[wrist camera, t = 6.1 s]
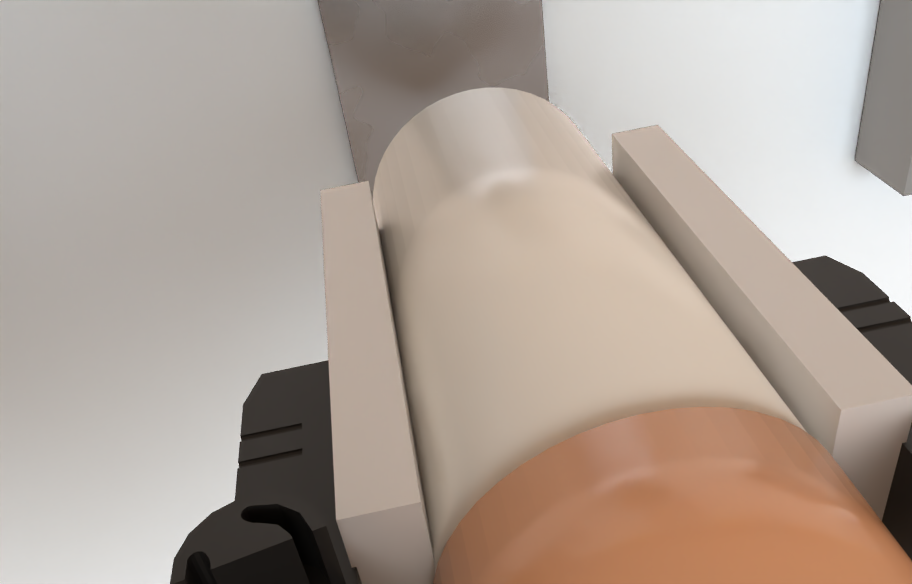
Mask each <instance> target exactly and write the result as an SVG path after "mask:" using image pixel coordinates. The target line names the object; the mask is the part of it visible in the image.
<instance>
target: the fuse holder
mask: <svg viewBox="0 0 912 584" xmlns="http://www.w3.org/2000/svg"><path fill="white" fill-rule="evenodd" d="M318 3H319V7H320V12H321V16H322V21H323V25H324V29H325V34H326V38H327V43H328V47H329V52H330V56H331V61H332V65H333V70H334V74H335V79H336V83H337V87H338V92H339V96H340V101H341V105H342V110H343V114H344V119H345V123H346V128H347V132H348V137H349V141H350V146H351V150H352V154H353V159H354V163H355V168H356V172H357V177H358V181H359V183H360V182H365V181H369V186H370V191H371V195H372V200H373V190H374V182H375V177H376V174H377V170H378V167H379V164H380V162H381V160H382V157H383V155H384V153H385V151H386V149H387V148H388V146H389V144H390V143H391V141H392V140H393V138H394V137H395V136H396V135H397V133H398V132H399V131H400V130H401V128H402V127H403V126H404V125H405V124H407V123H408V122H409V121H410V120H411V119H412V118H413V117H414V116H415V115H417V114H418V113H419V112H421V111H422V110H424V109H425V108H426V107H428V106H430V105H432V104H433V103H435V102H437V101H439V100H441V99H443V98H446V97H448V96H451V95H453V94H456V93H460V92H463V91H467V90H471V89H479V88H509V89H517V90H520V91H524V92H528V93H531V94H534V95H536V96H538V97H541V98H543V99H545V100H547V101H548V102H549V97H548V83H547V69H546V54H545V40H544V26H543V12H542V0H318Z"/></svg>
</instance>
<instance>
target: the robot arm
mask: <svg viewBox="0 0 912 584" xmlns="http://www.w3.org/2000/svg"><path fill="white" fill-rule="evenodd" d="M612 165H613V176H614V177H615V178H616V179H617V181H618V182H619V183H620V185H621V186H622V187H623V189H624V190H625V191H626V193H627V194H628V195H629V197H630V198H631V199H632V201H633V202H634V203H635V205H636V206H637V207H638V209H639V210H640V211H641V213H642V214H643V215H644V217H645V218H646V219H647V221H648V222H649V223H650V225H651V226H652V227H653V229H654V230H655V231H656V233H657V234H658V235H659V237H660V238H661V239H662V241H663V242H664V243H665V245H666V246H667V247H668V249H669V250H670V251H671V252H672V254H673V255H674V256H675V258H676V259H677V260H678V262H679V263H680V264H681V266H682V267H683V268H684V270H685V271H686V272H687V274H688V275H689V276H690V278H691V279H692V280H693V282H694V283H695V284H696V286H697V287H698V288H699V290H700V291H701V292H702V294H703V295H704V296H705V298H706V299H707V300H708V302H709V303H710V304H711V306H712V307H713V308H714V310H715V311H716V312H717V314H718V315H719V316H720V318H721V319H722V320H723V322H724V323H725V324H726V325H727V327H728V328H729V329H730V331H731V332H732V333H733V335H734V336H735V337H736V339H737V340H738V341H739V343H740V344H741V345H742V347H743V348H744V349H745V351H746V352H747V353H748V355H749V356H750V357H751V359H752V360H753V361H754V363H755V364H756V365H757V367H758V368H759V369H760V371H761V372H762V373H763V375H764V376H765V377H766V379H767V380H768V381H769V383H770V384H771V385H772V387H773V388H774V389H775V391H776V392H777V393H778V395H779V396H780V397H781V398H782V400H783V401H784V402H785V404H786V405H787V406H788V408H789V409H790V410H791V412H792V413H793V414H794V416H795V417H796V418H797V420H798V421H799V422H800V424H801V425H802V426H803V428H804V429H805V430H806V432H807V433H808V434H810V435H811V436H812V437H814V438H815V439H817V440H818V441H819V442H820V443H821V444H822V445H823V447H824V448H825V449H826V450H827V451H828V452H829V453H830V454H831V455H832V457H833V458H834V459H835V461H836V462H837V463H838V465H839V466H840V467H841V468H842V470H843V471H844V472H845V474H846V475H847V476H848V478H849V479H850V480H851V482H852V483H853V484H854V485H855V487H856V488H857V489H858V491H859V492H860V493H861V495H862V496H863V497H864V499H865V500H866V501H867V503H868V504H869V505H870V506H871V508H872V509H873V510H874V512H875V513H876V514H877V516H878V517H879V518H880V520H881V521H882V522H883V523H884V525H885V526H886V527H887V529H888V530H889V531H890V533H891V534H892V535H893V537H894V538H895V539H896V540H897V542H898V543H899V544H900V546H901V547H902V548H903V550H904V551H905V552H906V554H907V555H908V556H909V558H910V559H911V560H912V322H911V319H910V316H909V315H908V314H907V313H906V312H905V311H904V310H902V309H901V308H900V307H899V306H898V305H897V304H896V303H895V302H890V301H889V297H888V296H887V295H886V294H885V293H884V292H883V291H882V290H881V289H880V288H878V287H877V286H876V285H875V284H874V283H873V282H872V281H871V280H870V279H869V278H868V277H866V276H865V275H864V274H863V273H861V272H859V271H857V270H855V269H853V268H851V267H849V266H847V265H844V264H842V263H840V262H838V261H836V260H834V259H832V258H829V257H827V256H821V257H816V258H811V259H807V260H802V261H797V262H791V261H790V260H789V259H788V258H787V257H786V256H785V255H784V254H783V253H782V252H781V251H780V250H779V249H778V248H777V247H776V246H775V245H774V244H773V243H772V242H771V240H770V239H769V238H768V237H767V236H766V235H765V234H764V233H763V232H762V231H761V230H760V229H759V228H758V227H757V226H756V225H755V224H754V223H753V222H752V221H751V220H750V219H749V218H748V217H747V216H746V215H745V214H744V213H743V212H742V211H741V210H740V209H739V208H738V207H737V206H736V205H735V204H734V203H733V202H732V200H731V199H730V198H729V197H728V196H727V195H726V194H725V193H724V192H723V191H722V190H721V189H720V188H719V187H718V186H717V185H716V184H715V183H714V182H713V181H712V180H711V179H710V178H709V177H708V176H707V175H706V174H705V173H704V172H703V171H702V170H701V169H700V168H699V167H698V166H697V165H696V164H695V163H694V162H693V160H692V159H691V158H690V157H689V156H688V155H687V154H686V153H685V152H684V151H683V150H682V149H681V148H680V147H679V146H678V145H677V144H676V143H675V142H674V141H673V140H672V139H671V138H670V137H669V136H668V135H667V134H666V133H665V132H664V131H663V130H662V129H661V128H660V127H659V126H658V125H655V126H649V127H644V128H639V129H634V130H629V131H623V132H618V133H613V134H612ZM320 193H321V214H322V235H323V256H324V277H325V298H326V319H327V340H328V361H323V362H319V363H314V364H309V365H304V366H299V367H294V368H290V369H285V370H280V371H275V372H270V373H265V374H262V375H261V376H260V378H259V380H258V381H257V383H256V384H255V386H254V388H253V389H252V391H251V393H250V394H249V396H248V398H247V399H246V401H245V402H244V404H243V413H242V425H241V440H242V442H240V448H239V459H238V463H239V468H238V471H237V482H236V493H235V501H234V502H232V503H230V504H228V505H226V506H224V507H222V508H221V509H219V510H217V511H215V512H213V513H211V514H210V515H209V516H208V517H207V518H206V519H205V520H204V521H202V522H201V523H200V524H199V525H198V526H197V527H196V528H195V529H194V530H193V531H192V532H190V533H189V534H188V536H187V538H186V540H185V541H184V543H183V545H182V546H181V548H180V550H179V551H178V553H177V555H176V556H175V558H174V562H173V568H172V575H171V581H170V584H433V580H434V576H435V560H434V554H433V548H432V542H431V536H430V530H429V524H428V518H427V513H426V507H425V501H424V495H423V489H422V483H421V477H420V471H419V465H418V459H417V453H416V447H415V441H414V435H413V429H412V423H411V417H410V411H409V405H408V399H407V393H406V388H405V382H404V376H403V370H402V364H401V358H400V352H399V346H398V340H397V334H396V328H395V322H394V316H393V310H392V304H391V298H390V292H389V286H388V280H387V274H386V268H385V262H384V257H383V251H382V245H381V239H380V233H379V228H378V223H377V218H376V214H375V209H374V205H373V200H372V195H371V191H370V186H369V181H365V182H360V183H354V184H349V185H344V186H339V187H334V188H329V189H323V190H320Z"/></svg>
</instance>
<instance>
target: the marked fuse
mask: <svg viewBox="0 0 912 584" xmlns="http://www.w3.org/2000/svg"><path fill="white" fill-rule="evenodd" d="M373 205H374V209H375V214H376V218H377V223H378V228H379V233H380V239H381V245H382V251H383V257H384V262H385V268H386V274H387V280H388V286H389V292H390V298H391V304H392V310H393V316H394V322H395V328H396V334H397V340H398V346H399V352H400V358H401V364H402V370H403V376H404V382H405V388H406V393H407V399H408V405H409V411H410V417H411V423H412V429H413V435H414V441H415V447H416V453H417V459H418V465H419V471H420V477H421V483H422V489H423V495H424V501H425V507H426V513H427V518H428V524H429V530H430V536H431V542H432V548H433V554H434V560H435V576H434V580H433V584H912V560H911V559H910V558H909V556H908V555H907V554H906V552H905V551H904V550H903V548H902V547H901V546H900V544H899V543H898V542H897V540H896V539H895V538H894V537H893V535H892V534H891V533H890V531H889V530H888V529H887V527H886V526H885V525H884V523H883V522H882V521H881V520H880V518H879V517H878V516H877V514H876V513H875V512H874V510H873V509H872V508H871V506H870V505H869V504H868V503H867V501H866V500H865V499H864V497H863V496H862V495H861V493H860V492H859V491H858V489H857V488H856V487H855V485H854V484H853V483H852V482H851V480H850V479H849V478H848V476H847V475H846V474H845V472H844V471H843V470H842V468H841V467H840V466H839V465H838V463H837V462H836V461H835V459H834V458H833V457H832V455H831V454H830V453H829V452H828V451H827V450H826V449H825V448H824V447H823V445H822V444H821V443H820V442H819V441H818V440H817V439H815V438H814V437H812V436H811V435H810V434H808V433H807V432H806V430H805V429H804V428H803V426H802V425H801V424H800V422H799V421H798V420H797V418H796V417H795V416H794V414H793V413H792V412H791V410H790V409H789V408H788V406H787V405H786V404H785V402H784V401H783V400H782V398H781V397H780V396H779V395H778V393H777V392H776V391H775V389H774V388H773V387H772V385H771V384H770V383H769V381H768V380H767V379H766V377H765V376H764V375H763V373H762V372H761V371H760V369H759V368H758V367H757V365H756V364H755V363H754V361H753V360H752V359H751V357H750V356H749V355H748V353H747V352H746V351H745V349H744V348H743V347H742V345H741V344H740V343H739V341H738V340H737V339H736V337H735V336H734V335H733V333H732V332H731V331H730V329H729V328H728V327H727V325H726V324H725V323H724V322H723V320H722V319H721V318H720V316H719V315H718V314H717V312H716V311H715V310H714V308H713V307H712V306H711V304H710V303H709V302H708V300H707V299H706V298H705V296H704V295H703V294H702V292H701V291H700V290H699V288H698V287H697V286H696V284H695V283H694V282H693V280H692V279H691V278H690V276H689V275H688V274H687V272H686V271H685V270H684V268H683V267H682V266H681V264H680V263H679V262H678V260H677V259H676V258H675V256H674V255H673V254H672V252H671V251H670V250H669V249H668V247H667V246H666V245H665V243H664V242H663V241H662V239H661V238H660V237H659V235H658V234H657V233H656V231H655V230H654V229H653V227H652V226H651V225H650V223H649V222H648V221H647V219H646V218H645V217H644V215H643V214H642V213H641V211H640V210H639V209H638V207H637V206H636V205H635V203H634V202H633V201H632V199H631V198H630V197H629V195H628V194H627V193H626V191H625V190H624V189H623V187H622V186H621V185H620V183H619V182H618V181H617V179H616V178H615V177H614V176H613V174H612V173H611V172H610V170H609V169H608V168H607V166H606V165H605V164H604V162H603V161H602V160H601V158H600V157H599V156H598V154H597V153H596V152H595V150H594V149H593V148H592V146H591V145H590V144H589V142H588V141H587V140H586V138H585V137H584V136H583V134H582V133H581V132H580V130H579V129H578V128H577V126H576V125H575V124H574V123H573V122H572V121H571V119H570V118H569V117H568V116H567V115H566V114H565V113H563V112H562V111H561V110H560V109H559V108H558V107H556V106H555V105H553V104H551V103H550V102H548V101H547V100H545V99H543V98H541V97H538V96H536V95H534V94H531V93H528V92H524V91H520V90H517V89H509V88H479V89H471V90H467V91H463V92H460V93H456V94H453V95H451V96H448V97H446V98H443V99H441V100H439V101H437V102H435V103H433V104H432V105H430V106H428V107H426V108H425V109H424V110H422V111H421V112H419V113H418V114H417V115H415V116H414V117H413V118H412V119H411V120H410V121H409V122H408V123H407V124H405V125H404V126H403V127H402V128H401V130H400V131H399V132H398V133H397V135H396V136H395V137H394V138H393V140H392V141H391V143H390V144H389V146H388V148H387V149H386V151H385V153H384V155H383V157H382V160H381V162H380V164H379V167H378V170H377V174H376V177H375V182H374V190H373Z"/></svg>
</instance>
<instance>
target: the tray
mask: <svg viewBox="0 0 912 584" xmlns="http://www.w3.org/2000/svg"><path fill="white" fill-rule="evenodd" d="M855 161H856V162H857V163H859V164H860V165H861V166H863V167H864V168H866V169H867V170H868V171H870V172H871V173H872V174H874V175H875V176H877V177H878V178H879V179H881V180H882V181H883V182H885V183H886V184H888V185H889V186H890V187H892V188H893V189H894V190H896V191H897V192H899V193H900V194H901V195H903V196H906V195H912V0H881V3H880V9H879V15H878V21H877V28H876V34H875V40H874V46H873V52H872V58H871V65H870V71H869V77H868V83H867V89H866V96H865V102H864V108H863V114H862V120H861V126H860V133H859V139H858V145H857V151H856V157H855Z"/></svg>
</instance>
